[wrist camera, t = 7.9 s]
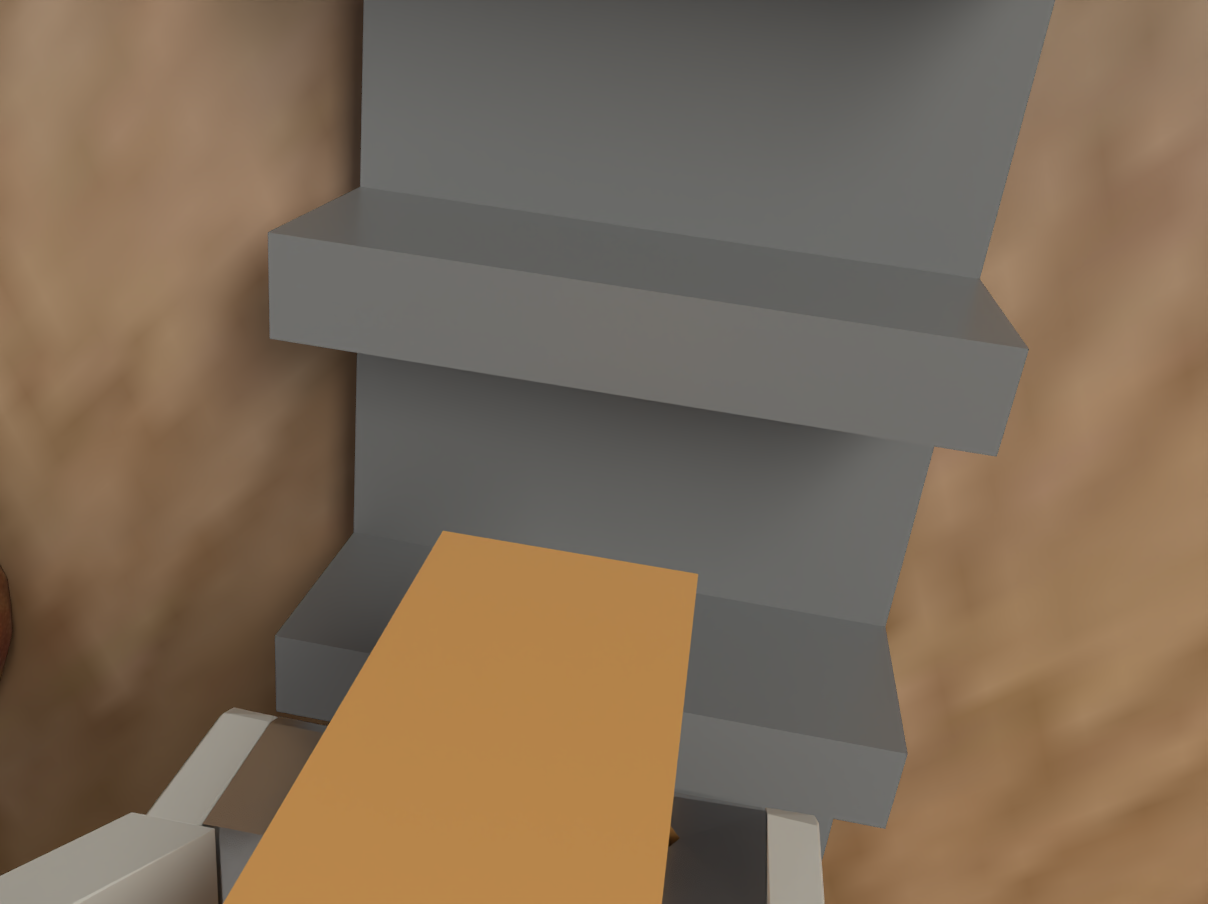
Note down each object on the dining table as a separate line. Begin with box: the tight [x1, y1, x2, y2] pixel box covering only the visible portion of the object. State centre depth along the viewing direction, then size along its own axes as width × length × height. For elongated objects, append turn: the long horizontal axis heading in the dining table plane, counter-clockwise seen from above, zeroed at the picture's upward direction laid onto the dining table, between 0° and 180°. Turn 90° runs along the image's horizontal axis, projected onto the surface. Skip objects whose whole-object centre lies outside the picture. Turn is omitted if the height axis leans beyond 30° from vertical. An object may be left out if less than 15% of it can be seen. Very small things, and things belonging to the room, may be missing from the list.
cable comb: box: [268, 0, 1055, 860], centre depth 17 cm, size 10×21×4 cm, turn 174°
